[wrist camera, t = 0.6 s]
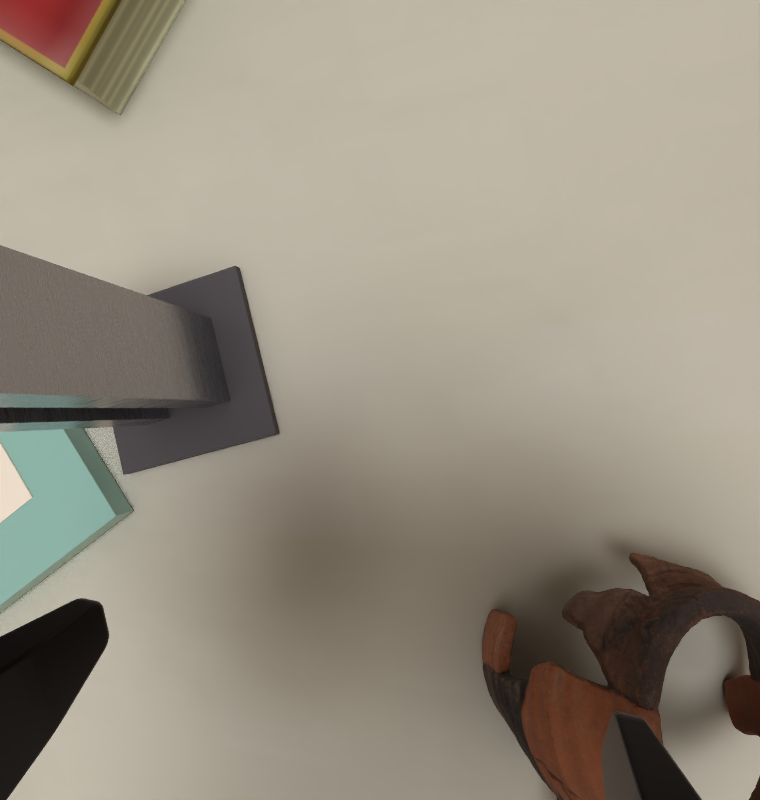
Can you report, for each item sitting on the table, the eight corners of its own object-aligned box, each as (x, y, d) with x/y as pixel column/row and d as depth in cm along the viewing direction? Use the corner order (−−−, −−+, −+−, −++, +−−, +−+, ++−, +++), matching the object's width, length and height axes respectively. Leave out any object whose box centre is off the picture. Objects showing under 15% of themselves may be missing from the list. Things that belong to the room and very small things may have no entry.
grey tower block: (230, 401, 23) (-69, 391, 10) (146, 425, 24) (-230, 443, 11) (211, 318, 23) (-106, 209, 11) (127, 344, 24) (-260, 272, 12)
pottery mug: (471, 535, 22) (607, 547, 14) (646, 558, 25) (842, 578, 17) (449, 864, 19) (607, 1103, 11) (651, 852, 21) (893, 1040, 14)
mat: (279, 433, 23) (275, 433, 23) (129, 473, 25) (123, 474, 24) (239, 268, 24) (235, 265, 23) (94, 316, 25) (88, 315, 25)
